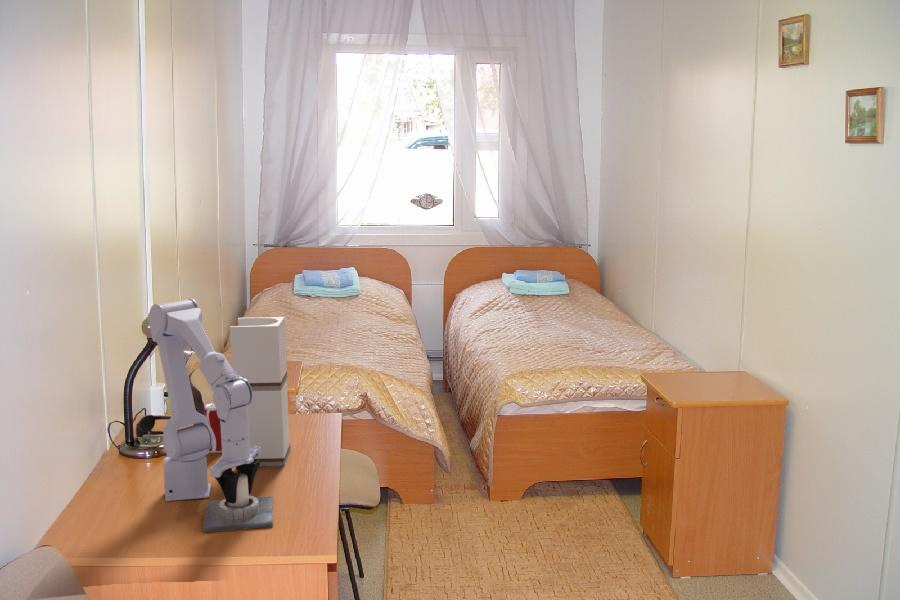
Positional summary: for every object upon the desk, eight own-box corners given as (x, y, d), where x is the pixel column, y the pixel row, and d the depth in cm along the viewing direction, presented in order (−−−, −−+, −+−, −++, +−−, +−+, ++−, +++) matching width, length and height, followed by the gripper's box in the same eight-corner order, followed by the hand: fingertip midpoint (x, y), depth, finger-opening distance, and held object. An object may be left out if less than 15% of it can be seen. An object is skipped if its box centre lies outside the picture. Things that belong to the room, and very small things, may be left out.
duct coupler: (239, 510, 196) (237, 481, 195) (223, 506, 198) (221, 477, 197) (253, 502, 200) (251, 474, 199) (237, 498, 202) (235, 471, 201)
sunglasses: (145, 430, 257) (143, 412, 256) (203, 428, 258) (202, 411, 257) (132, 447, 244) (130, 428, 243) (193, 445, 245) (192, 426, 244)
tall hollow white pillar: (290, 451, 238) (284, 316, 232) (284, 466, 228) (278, 326, 222) (245, 452, 238) (238, 317, 232) (237, 467, 228) (229, 326, 221)
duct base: (203, 532, 191) (202, 518, 191) (207, 505, 205) (207, 492, 204) (272, 526, 194) (272, 512, 193) (272, 500, 207) (272, 487, 207)
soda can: (222, 454, 237) (219, 408, 234) (203, 453, 238) (200, 407, 235) (231, 447, 242) (228, 402, 239) (212, 446, 243) (209, 401, 240)
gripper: (228, 450, 188) (231, 513, 190) (271, 429, 201) (274, 488, 203) (200, 445, 191) (204, 508, 194) (245, 425, 204) (248, 483, 206)
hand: (238, 498), depth 199 cm, fingers closed on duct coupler, 4 cm apart
